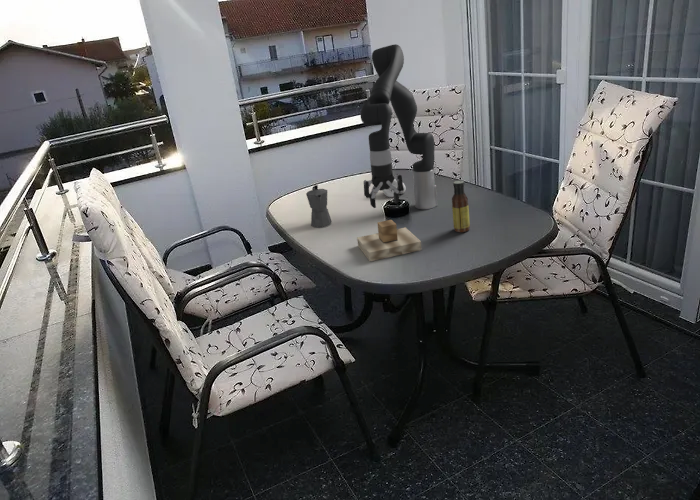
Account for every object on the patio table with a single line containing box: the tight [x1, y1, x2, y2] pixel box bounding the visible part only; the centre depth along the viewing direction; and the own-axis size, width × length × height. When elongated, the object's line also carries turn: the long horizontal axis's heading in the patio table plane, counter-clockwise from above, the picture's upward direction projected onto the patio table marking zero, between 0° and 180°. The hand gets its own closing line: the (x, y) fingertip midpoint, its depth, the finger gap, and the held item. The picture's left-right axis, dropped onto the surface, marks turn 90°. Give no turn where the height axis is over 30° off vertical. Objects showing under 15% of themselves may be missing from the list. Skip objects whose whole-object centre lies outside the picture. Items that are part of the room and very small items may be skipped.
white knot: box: [381, 179, 407, 198], centre depth 246 cm, size 11×12×9 cm
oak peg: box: [376, 219, 398, 243], centre depth 187 cm, size 6×6×10 cm
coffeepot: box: [305, 184, 333, 229], centre depth 219 cm, size 15×9×18 cm, turn 13°
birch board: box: [356, 226, 422, 262], centre depth 189 cm, size 20×16×4 cm
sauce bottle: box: [451, 180, 471, 233], centre depth 193 cm, size 7×6×20 cm
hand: (385, 205), depth 183 cm, fingers open, 8 cm apart
